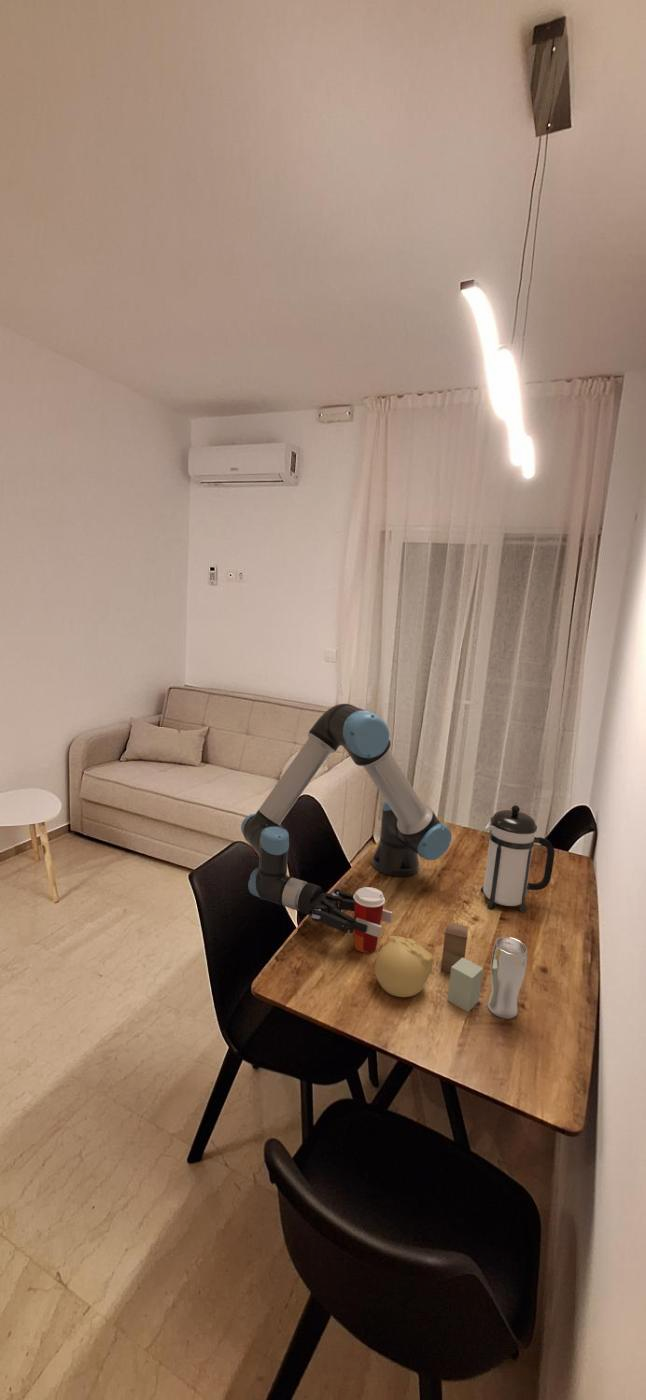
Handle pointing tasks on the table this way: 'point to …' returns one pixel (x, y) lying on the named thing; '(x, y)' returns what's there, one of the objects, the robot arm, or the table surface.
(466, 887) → the table surface
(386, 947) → the sculpture
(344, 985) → the table surface
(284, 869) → the robot arm
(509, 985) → the beer glass
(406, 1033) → the table surface
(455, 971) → the sage block
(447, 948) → the walnut block
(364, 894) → the paper cup
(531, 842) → the coffee press
